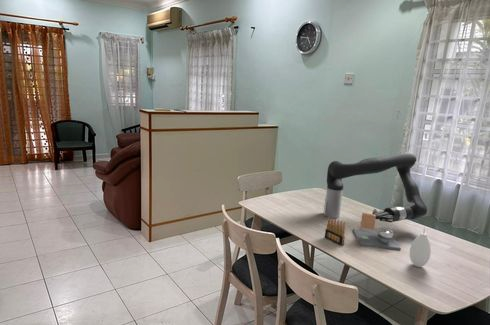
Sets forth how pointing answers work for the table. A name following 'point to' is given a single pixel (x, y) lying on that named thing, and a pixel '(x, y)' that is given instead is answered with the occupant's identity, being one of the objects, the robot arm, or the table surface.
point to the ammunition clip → (335, 232)
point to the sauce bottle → (420, 250)
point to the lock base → (375, 240)
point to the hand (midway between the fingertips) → (369, 217)
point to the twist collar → (369, 224)
